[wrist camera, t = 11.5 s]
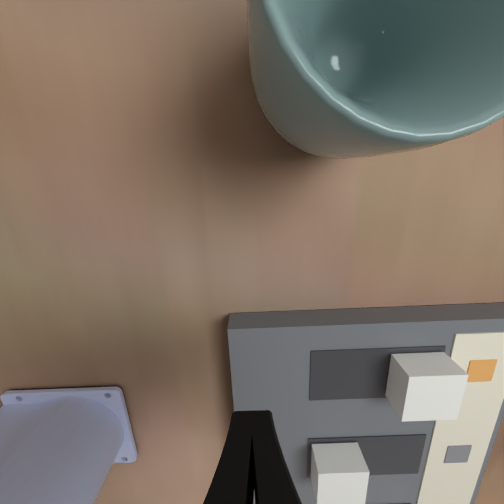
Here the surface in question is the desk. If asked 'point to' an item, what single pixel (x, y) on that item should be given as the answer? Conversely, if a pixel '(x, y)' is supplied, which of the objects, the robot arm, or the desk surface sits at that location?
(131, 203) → the desk surface
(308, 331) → the switch board
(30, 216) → the desk surface
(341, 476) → the switch tab
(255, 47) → the cup
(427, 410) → the switch tab
